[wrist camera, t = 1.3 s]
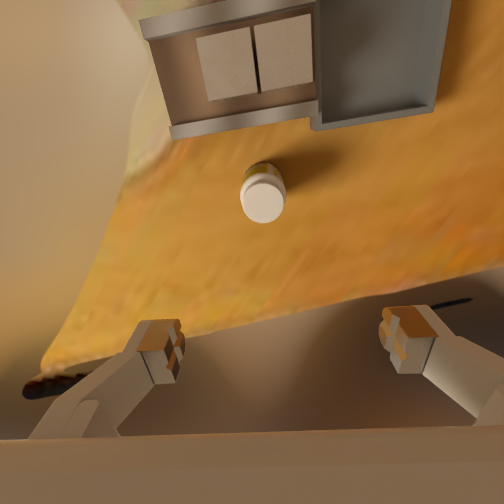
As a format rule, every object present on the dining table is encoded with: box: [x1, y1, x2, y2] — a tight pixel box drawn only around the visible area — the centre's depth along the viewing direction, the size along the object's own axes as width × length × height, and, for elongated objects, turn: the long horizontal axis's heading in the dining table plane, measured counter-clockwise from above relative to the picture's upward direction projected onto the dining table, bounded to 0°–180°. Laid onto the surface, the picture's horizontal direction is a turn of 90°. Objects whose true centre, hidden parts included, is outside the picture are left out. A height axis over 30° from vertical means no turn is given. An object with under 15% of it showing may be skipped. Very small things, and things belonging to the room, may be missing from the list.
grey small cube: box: [195, 27, 258, 102], centre depth 21 cm, size 4×4×4 cm
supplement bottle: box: [240, 162, 286, 223], centre depth 28 cm, size 5×5×8 cm
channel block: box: [139, 0, 318, 140], centre depth 24 cm, size 14×9×5 cm, turn 99°
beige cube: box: [254, 14, 313, 94], centre depth 21 cm, size 4×4×4 cm
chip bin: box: [310, 0, 452, 131], centre depth 24 cm, size 11×12×3 cm
